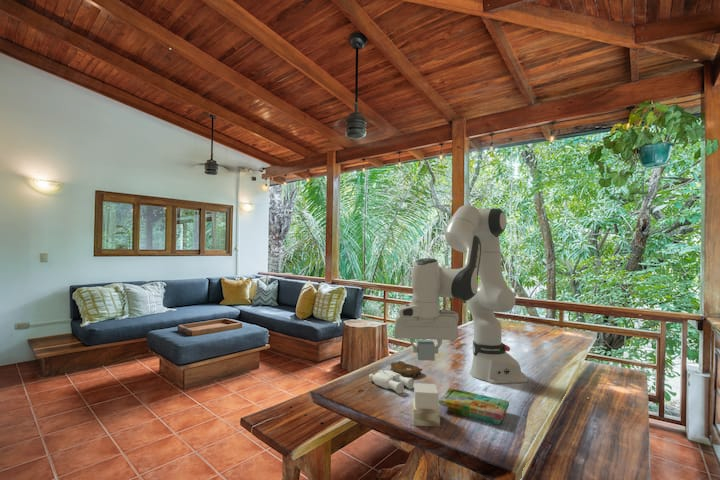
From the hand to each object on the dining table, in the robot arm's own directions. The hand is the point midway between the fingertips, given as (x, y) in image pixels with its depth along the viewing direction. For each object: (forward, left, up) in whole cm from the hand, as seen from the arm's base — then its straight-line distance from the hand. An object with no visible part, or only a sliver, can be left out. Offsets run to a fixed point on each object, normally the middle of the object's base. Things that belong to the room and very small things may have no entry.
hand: (425, 352), depth 111 cm
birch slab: (0, 0, -21) cm, 21 cm away
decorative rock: (+4, -40, -22) cm, 45 cm away
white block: (0, 0, -16) cm, 16 cm away
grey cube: (0, 0, -2) cm, 2 cm away
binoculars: (+11, -26, -22) cm, 36 cm away
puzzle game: (-17, -7, -22) cm, 28 cm away
